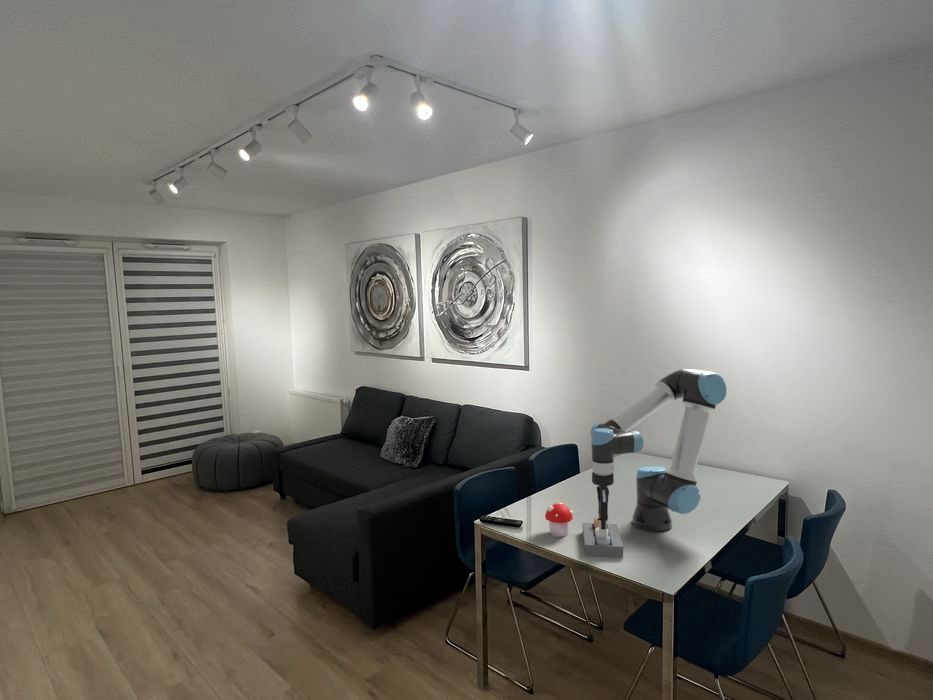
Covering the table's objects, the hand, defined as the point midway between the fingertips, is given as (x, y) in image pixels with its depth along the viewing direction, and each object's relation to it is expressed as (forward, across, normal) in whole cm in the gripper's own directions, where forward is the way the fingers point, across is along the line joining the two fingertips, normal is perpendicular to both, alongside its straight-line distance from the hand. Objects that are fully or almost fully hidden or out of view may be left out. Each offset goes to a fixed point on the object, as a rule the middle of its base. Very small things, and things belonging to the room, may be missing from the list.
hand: (603, 536), depth 193 cm
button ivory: (+5, -7, 0) cm, 8 cm away
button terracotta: (+3, -13, 0) cm, 13 cm away
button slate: (+5, 0, 0) cm, 5 cm away
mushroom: (+6, -14, -15) cm, 22 cm away
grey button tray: (+6, -6, 0) cm, 9 cm away
